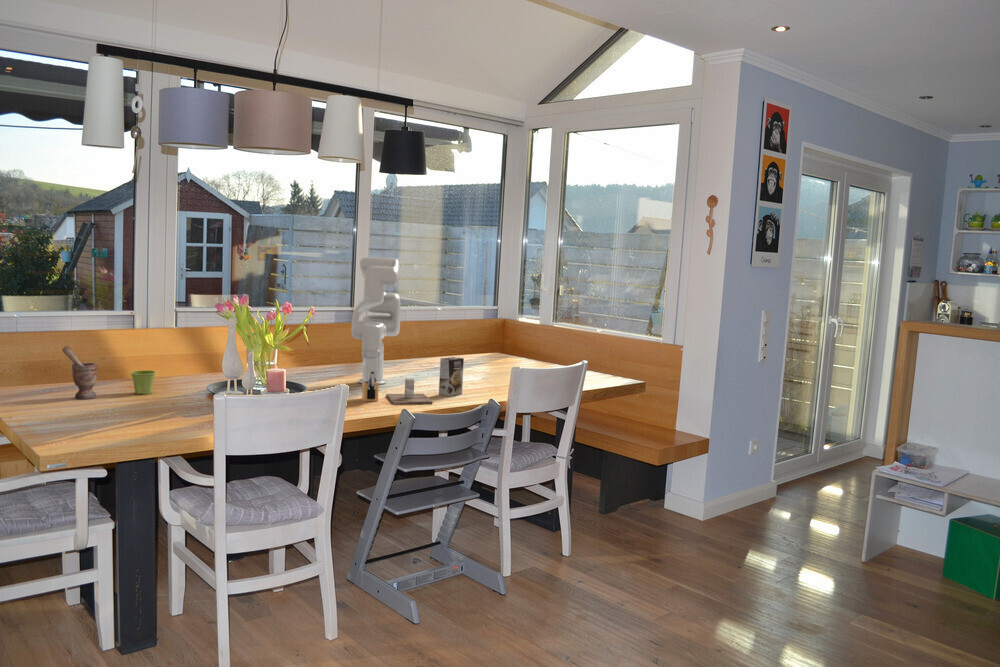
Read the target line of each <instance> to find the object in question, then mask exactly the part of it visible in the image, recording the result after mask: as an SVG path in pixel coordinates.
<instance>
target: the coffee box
mask: <svg viewBox="0 0 1000 667" xmlns="http://www.w3.org/2000/svg"><path fill="white" fill-rule="evenodd" d="M464 360H465V359H464V357H463V358H462V357H454V356H451V357H440V364H439V379H438V380H439V384H438V395H442V396H445V397H452V396H453V397H454V396H458V395H462V394H463V386H464V385H463V383H464V382H463V381H464V380H463V379H464V378H463V377H464Z"/></svg>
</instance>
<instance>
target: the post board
mask: <svg viewBox="0 0 1000 667" xmlns="http://www.w3.org/2000/svg"><path fill="white" fill-rule="evenodd" d="M385 396H386V398H387V399H388V400H389V401H390V403H391V404H392V405H393V406H398V405H399V406H400V405H403V406H405V405H406V406H407V405H409V406H410V405H411V406H412V405H413V406H414V405H433V401H432V400H431V399H430V398H429V397H428V396H427V395H425V394H424V393H415V379H414V378H413V377H411V378H410V377H409V378H408V377H407V378H406V377H405V379H404V393H386V394H385Z"/></svg>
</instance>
